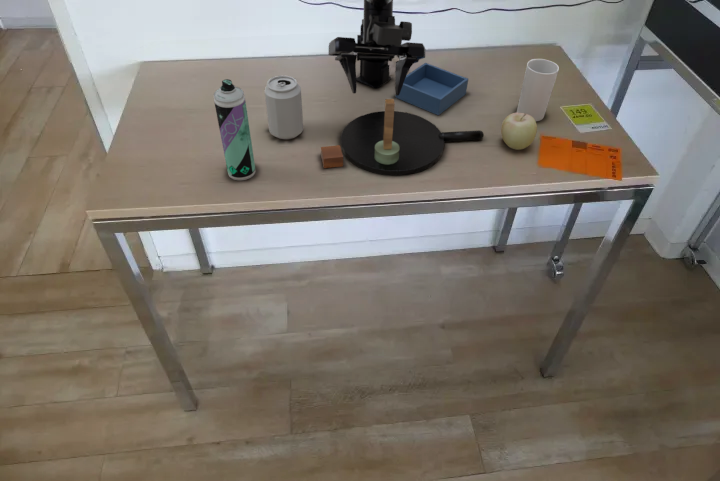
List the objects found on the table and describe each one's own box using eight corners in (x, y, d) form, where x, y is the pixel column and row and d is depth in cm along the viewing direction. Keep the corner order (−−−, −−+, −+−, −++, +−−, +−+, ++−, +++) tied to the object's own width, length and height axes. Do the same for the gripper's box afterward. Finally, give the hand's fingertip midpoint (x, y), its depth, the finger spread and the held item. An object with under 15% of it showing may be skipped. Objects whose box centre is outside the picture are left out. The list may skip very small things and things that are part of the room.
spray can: (229, 164, 114) (212, 74, 100) (256, 163, 115) (243, 73, 100) (226, 181, 110) (209, 89, 96) (255, 180, 111) (241, 89, 97)
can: (309, 126, 124) (306, 76, 116) (295, 144, 119) (291, 94, 111) (278, 119, 126) (273, 70, 118) (263, 137, 121) (257, 87, 113)
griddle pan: (345, 178, 112) (345, 170, 110) (336, 117, 127) (336, 110, 126) (497, 169, 114) (499, 161, 113) (470, 111, 130) (471, 103, 128)
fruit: (540, 148, 120) (549, 115, 114) (514, 158, 117) (523, 126, 112) (515, 130, 125) (523, 98, 119) (490, 140, 122) (497, 108, 116)
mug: (549, 121, 127) (563, 73, 119) (520, 123, 127) (533, 74, 118) (534, 98, 134) (547, 51, 126) (507, 100, 134) (518, 52, 125)
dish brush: (373, 150, 116) (375, 94, 107) (397, 149, 117) (401, 93, 108) (375, 165, 113) (378, 108, 104) (400, 164, 113) (404, 107, 104)
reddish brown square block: (321, 156, 116) (320, 146, 115) (340, 154, 117) (340, 144, 115) (323, 168, 114) (323, 158, 112) (343, 166, 114) (343, 156, 113)
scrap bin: (395, 97, 134) (396, 81, 131) (423, 77, 140) (425, 62, 138) (438, 115, 128) (440, 99, 125) (465, 94, 135) (468, 78, 132)
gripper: (344, -2, 100) (342, 89, 103) (439, 8, 106) (435, 93, 108) (328, 11, 110) (327, 93, 113) (415, 19, 116) (412, 97, 119)
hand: (376, 94), depth 113 cm, fingers open, 9 cm apart
